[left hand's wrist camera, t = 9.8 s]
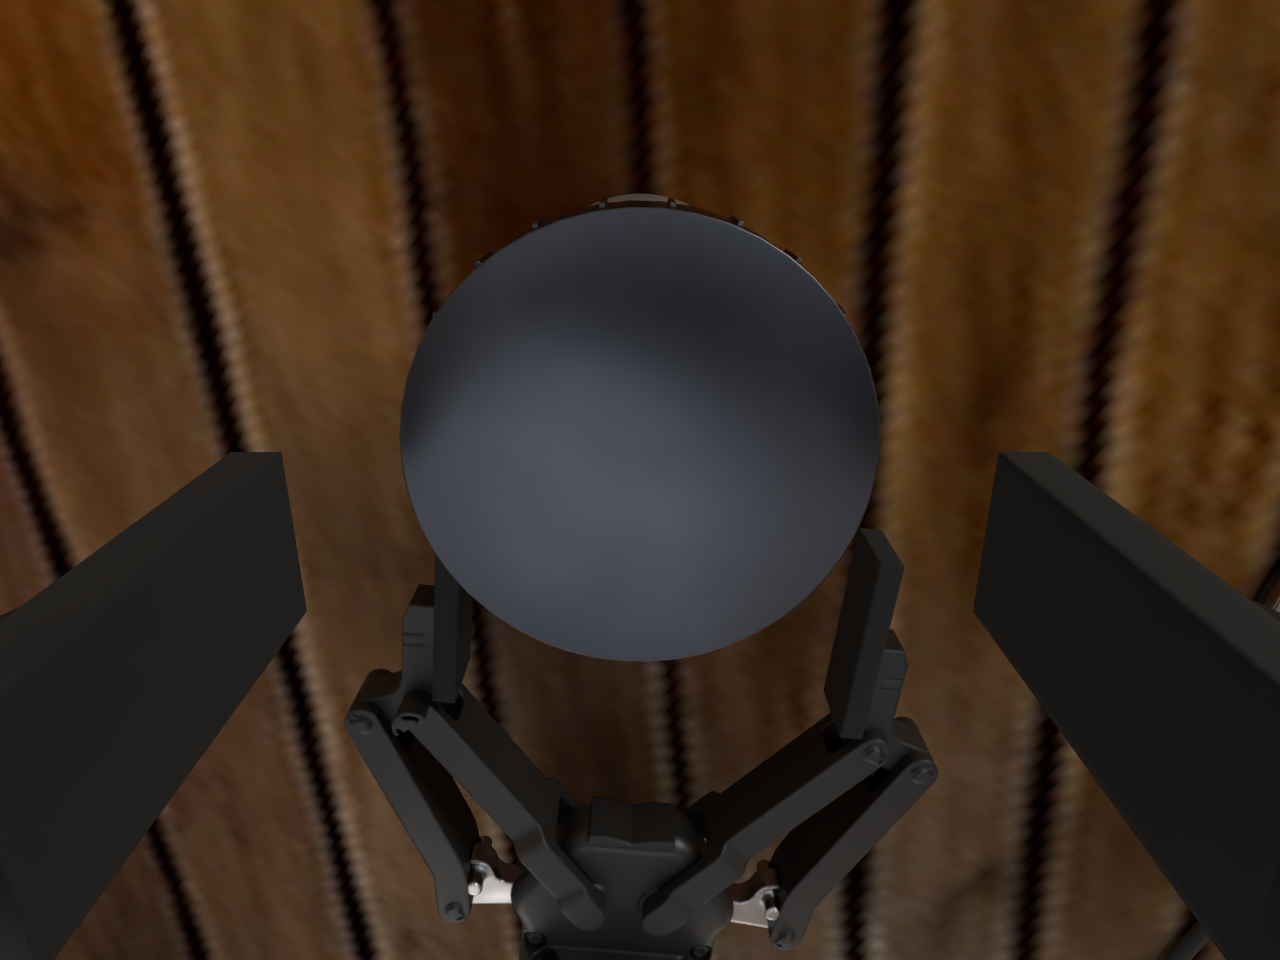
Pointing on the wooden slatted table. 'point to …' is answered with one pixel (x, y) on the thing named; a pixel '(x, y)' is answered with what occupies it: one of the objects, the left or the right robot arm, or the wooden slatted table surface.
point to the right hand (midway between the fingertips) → (671, 524)
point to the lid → (639, 432)
